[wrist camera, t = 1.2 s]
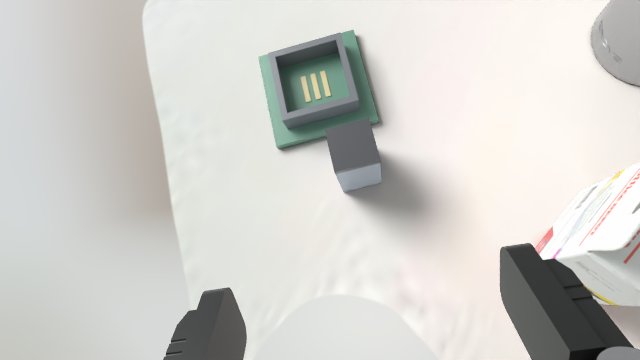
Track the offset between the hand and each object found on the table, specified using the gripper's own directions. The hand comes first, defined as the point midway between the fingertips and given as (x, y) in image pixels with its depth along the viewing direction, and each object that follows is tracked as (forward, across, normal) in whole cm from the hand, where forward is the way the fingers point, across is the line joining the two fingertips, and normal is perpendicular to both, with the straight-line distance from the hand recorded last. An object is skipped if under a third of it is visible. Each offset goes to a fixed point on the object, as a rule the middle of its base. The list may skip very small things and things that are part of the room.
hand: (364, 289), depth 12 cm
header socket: (+32, +2, +3) cm, 32 cm away
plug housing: (+26, 0, +9) cm, 27 cm away
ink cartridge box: (+19, -17, +16) cm, 30 cm away
